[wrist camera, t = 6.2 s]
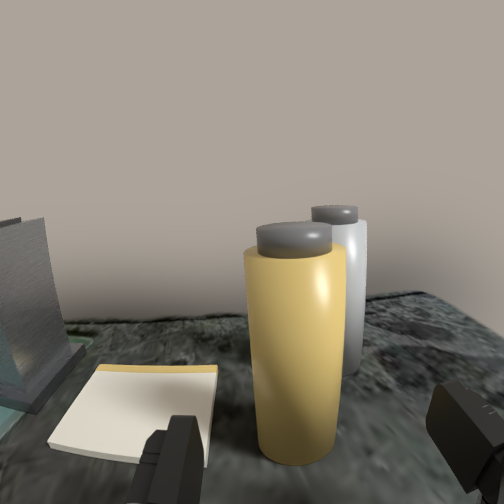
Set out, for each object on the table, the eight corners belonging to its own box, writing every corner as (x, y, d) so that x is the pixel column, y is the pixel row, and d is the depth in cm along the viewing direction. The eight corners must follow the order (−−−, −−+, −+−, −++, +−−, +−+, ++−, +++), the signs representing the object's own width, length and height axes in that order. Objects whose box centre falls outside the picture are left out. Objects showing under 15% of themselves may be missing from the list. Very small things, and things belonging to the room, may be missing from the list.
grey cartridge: (310, 381, 22) (309, 211, 19) (301, 352, 26) (297, 206, 24) (367, 372, 22) (376, 208, 19) (351, 346, 26) (354, 203, 24)
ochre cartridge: (259, 469, 14) (241, 239, 12) (256, 418, 18) (242, 223, 16) (342, 459, 14) (360, 231, 12) (326, 410, 18) (330, 218, 16)
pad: (50, 448, 14) (46, 440, 14) (102, 370, 24) (100, 364, 24) (206, 467, 14) (204, 460, 14) (218, 371, 24) (217, 364, 24)
